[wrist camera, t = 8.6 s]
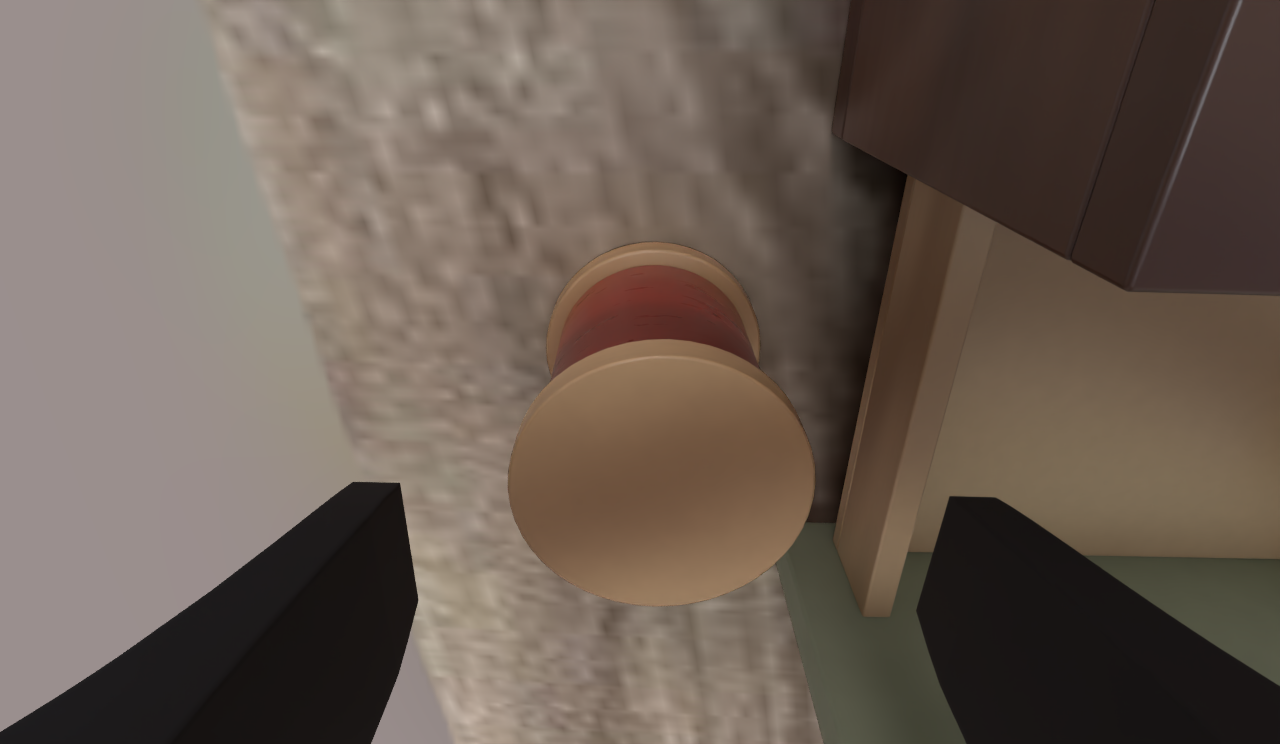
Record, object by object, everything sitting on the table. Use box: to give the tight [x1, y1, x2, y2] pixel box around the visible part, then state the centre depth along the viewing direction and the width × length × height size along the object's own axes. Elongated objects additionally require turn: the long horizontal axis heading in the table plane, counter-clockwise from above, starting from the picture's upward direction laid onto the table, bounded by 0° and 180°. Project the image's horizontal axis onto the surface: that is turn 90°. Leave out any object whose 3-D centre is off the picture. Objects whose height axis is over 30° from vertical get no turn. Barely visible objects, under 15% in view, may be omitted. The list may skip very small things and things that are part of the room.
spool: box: [508, 242, 816, 606], centre depth 13 cm, size 5×5×6 cm
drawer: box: [776, 175, 1280, 744], centre depth 12 cm, size 18×14×8 cm
